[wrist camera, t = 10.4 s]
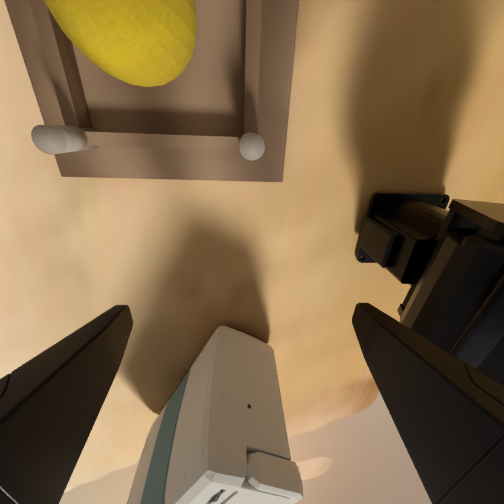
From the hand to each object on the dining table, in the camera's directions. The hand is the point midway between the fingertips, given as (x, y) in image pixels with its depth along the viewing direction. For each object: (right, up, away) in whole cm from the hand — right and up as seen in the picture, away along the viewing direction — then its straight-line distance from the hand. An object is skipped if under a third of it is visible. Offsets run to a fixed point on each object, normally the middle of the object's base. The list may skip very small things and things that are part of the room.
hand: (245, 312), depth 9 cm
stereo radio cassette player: (-5, -14, +21) cm, 26 cm away
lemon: (-5, +15, +5) cm, 16 cm away
